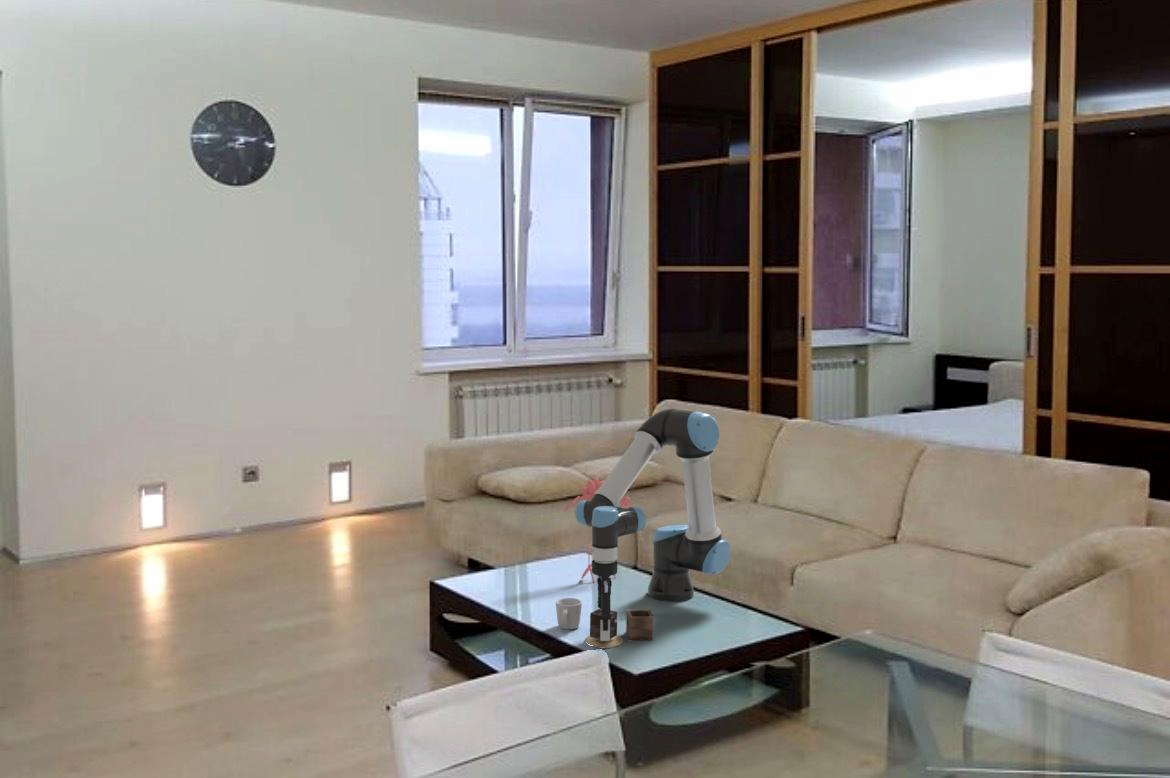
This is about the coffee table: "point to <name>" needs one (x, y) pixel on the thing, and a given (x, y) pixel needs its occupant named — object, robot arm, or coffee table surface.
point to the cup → (568, 612)
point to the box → (596, 624)
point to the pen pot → (639, 625)
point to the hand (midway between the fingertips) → (603, 635)
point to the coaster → (604, 642)
